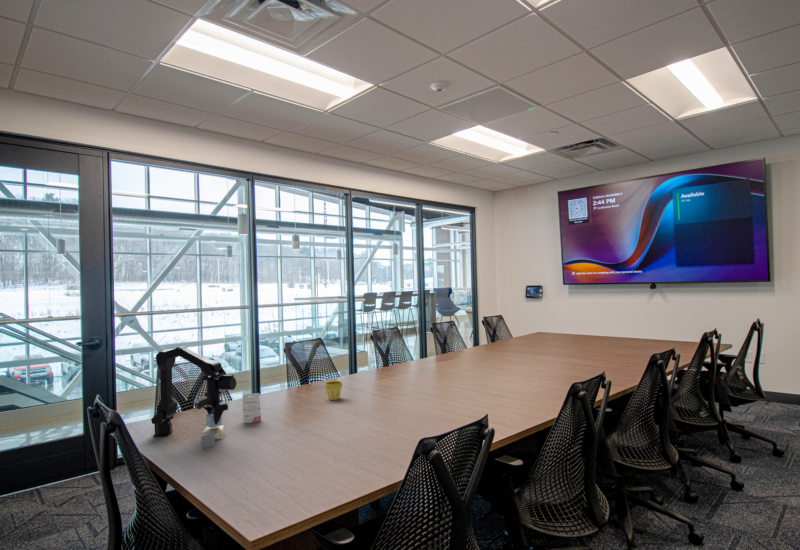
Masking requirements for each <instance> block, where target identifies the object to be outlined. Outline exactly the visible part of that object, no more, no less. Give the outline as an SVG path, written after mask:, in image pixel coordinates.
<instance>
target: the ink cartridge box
mask: <svg viewBox="0 0 800 550" xmlns="http://www.w3.org/2000/svg"><path fill="white" fill-rule="evenodd" d="M261 409H262V408H261V396H260V393H259V392H257V393H256V392H254V393H253V392H252V393H243V394H242V422H243V423H242V424H250V423H260V422H261V421H262V411H261Z"/></svg>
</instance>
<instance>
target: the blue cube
mask: <svg viewBox="0 0 800 550" xmlns="http://www.w3.org/2000/svg"><path fill="white" fill-rule="evenodd" d="M205 423H206V424H205V425H206V427H210V428H212V427H216V426H221V425H222V416H221V417H220V420H219V422H218V424H216V425H215V422H214V416H213V413H212V414H208V413H207V414H205Z"/></svg>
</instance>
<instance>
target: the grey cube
mask: <svg viewBox="0 0 800 550" xmlns="http://www.w3.org/2000/svg"><path fill="white" fill-rule="evenodd" d="M200 438H201V439H200V441H201V442H200V443H201V446H200V447H201V448H210V447H214V446H215V443H216V442H215V441H216V439H215V438H214V431H213V432H205V433H203V432H201V436H200Z"/></svg>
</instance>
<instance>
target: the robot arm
mask: <svg viewBox="0 0 800 550" xmlns="http://www.w3.org/2000/svg"><path fill="white" fill-rule="evenodd" d="M178 357H180V358H182V359H183V360H185V361H188V362H189V363H191V364H193V365H195V366H197V367H198V368H199V369H200V371H201V372H202V373H203V374H205V375H204V377H202V378H201V380H202V381H206V391H205V392H204V395H203V396H201V397H199V398H196V399H195V400H194V401H193V402H192V403H193V405H194V407H195V409H197V410H201V409H204V410H205V411H206V413H207V414H212V413H213V416H214V422H215V425H216V424H218V422H219V420H220V417H221V418H222V415H223V413H224V411H228V410H229V405H228V404H227V403H225V402H223V401H222V399H221V394H222V392H223V391H224V390H225V391H233V390H235V388H236V387H237V379H236V378H235V376H234V375H235V374H230V375H229V374H227V372H226V371H225V369H224V368H223V366H222V363H221V362H220V361H217V360H215V359H210V358H206V357H204V356H202V355H200V354H198V353H197V352H195V351H192V350H191V349H189V348H187V347H186V346H185V345H183V346H178V347H175V348H173V349H166V350H162V351H159V352H157V353H156V354H155V361H156V365H157V367H158V369H159V372H160V374H159V375H160V376H159V377H160V378H159V379H160V380H159V381H160V384H159V385H160V387H159V389H160V392H159V393H160V400H159V403H158V404H157V407H156V412H155V415H153V417H152V418H151V419H150V421H151V423H152V424H153V425H154V434H153V435H152V436H153V437H167V436H169V435H170V434H172V433H173V432H174V430H173V423H172V420H173V419H174V417H175V414H176V413H177V411H178V402H177V401H174V399H173V368H174V366H175V363H176V360H177V359H176V358H178ZM222 390H223V391H222Z"/></svg>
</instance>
